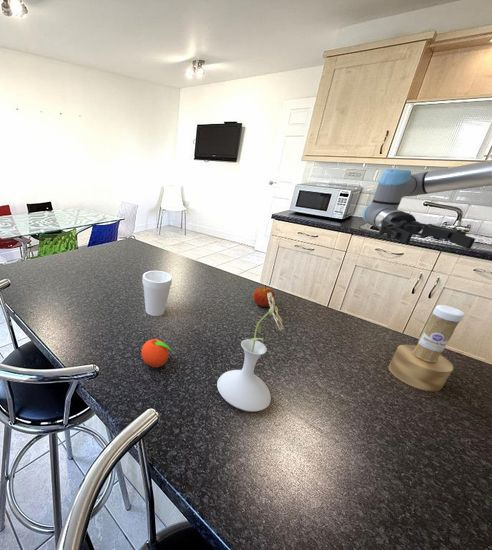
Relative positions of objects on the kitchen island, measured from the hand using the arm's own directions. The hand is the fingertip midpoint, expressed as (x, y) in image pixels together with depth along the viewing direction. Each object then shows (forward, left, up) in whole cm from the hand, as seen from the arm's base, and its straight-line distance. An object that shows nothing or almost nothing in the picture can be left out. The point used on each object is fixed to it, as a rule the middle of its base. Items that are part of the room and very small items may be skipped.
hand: (439, 241), depth 77 cm
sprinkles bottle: (+5, +20, -24) cm, 31 cm away
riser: (+5, +20, -30) cm, 36 cm away
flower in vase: (+47, +38, -30) cm, 67 cm away
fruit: (+37, -7, -30) cm, 48 cm away
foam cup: (+73, +8, -30) cm, 79 cm away
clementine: (+68, +34, -30) cm, 82 cm away
